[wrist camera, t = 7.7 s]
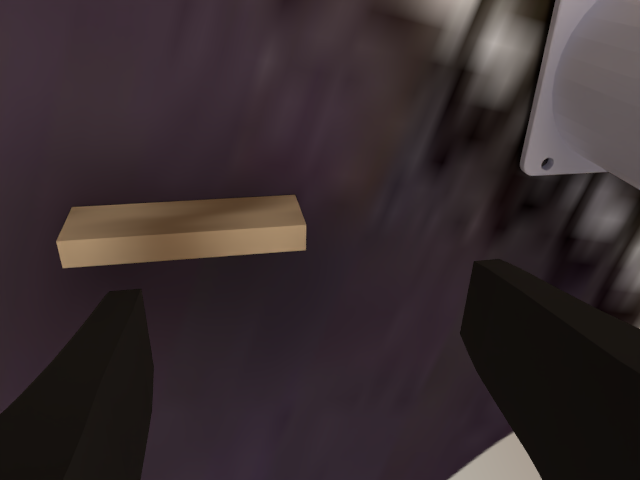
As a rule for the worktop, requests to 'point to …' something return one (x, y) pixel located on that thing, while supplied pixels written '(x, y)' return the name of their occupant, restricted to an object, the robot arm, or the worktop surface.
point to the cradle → (180, 230)
